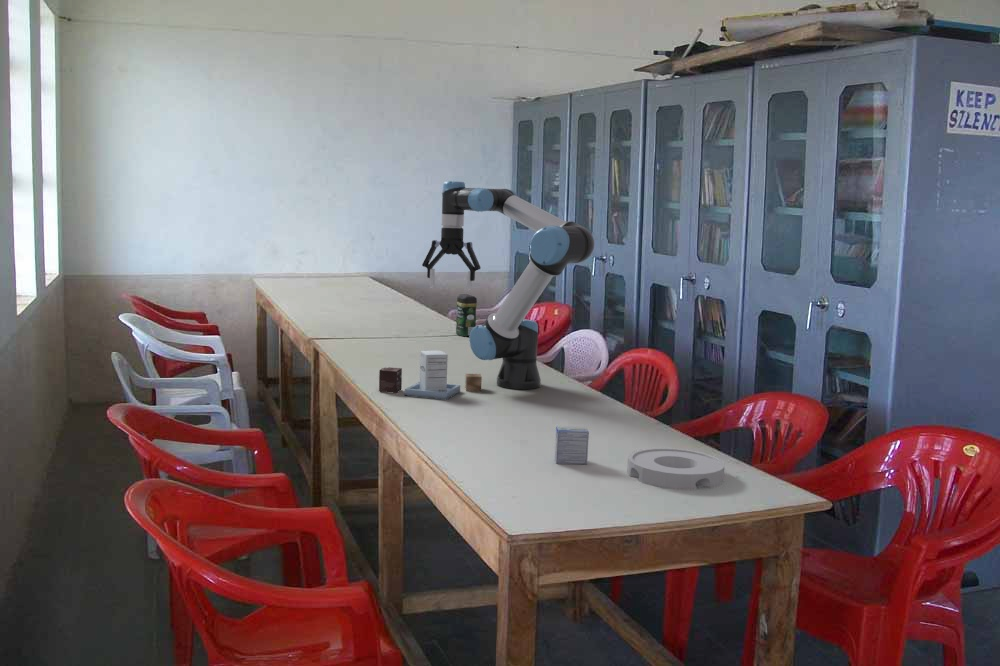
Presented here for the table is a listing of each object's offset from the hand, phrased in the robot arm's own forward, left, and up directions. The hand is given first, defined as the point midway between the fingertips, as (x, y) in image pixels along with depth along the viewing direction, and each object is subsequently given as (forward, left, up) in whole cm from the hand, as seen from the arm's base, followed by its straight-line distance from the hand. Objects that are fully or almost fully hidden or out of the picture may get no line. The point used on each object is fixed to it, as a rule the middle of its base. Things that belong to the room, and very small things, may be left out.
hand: (450, 289), depth 340 cm
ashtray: (-87, +86, -32) cm, 127 cm away
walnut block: (-13, +12, -32) cm, 36 cm away
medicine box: (-61, +85, -32) cm, 109 cm away
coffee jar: (+25, -100, -32) cm, 108 cm away
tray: (-3, +24, -32) cm, 40 cm away
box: (+11, +26, -32) cm, 43 cm away
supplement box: (-3, +24, -31) cm, 39 cm away
